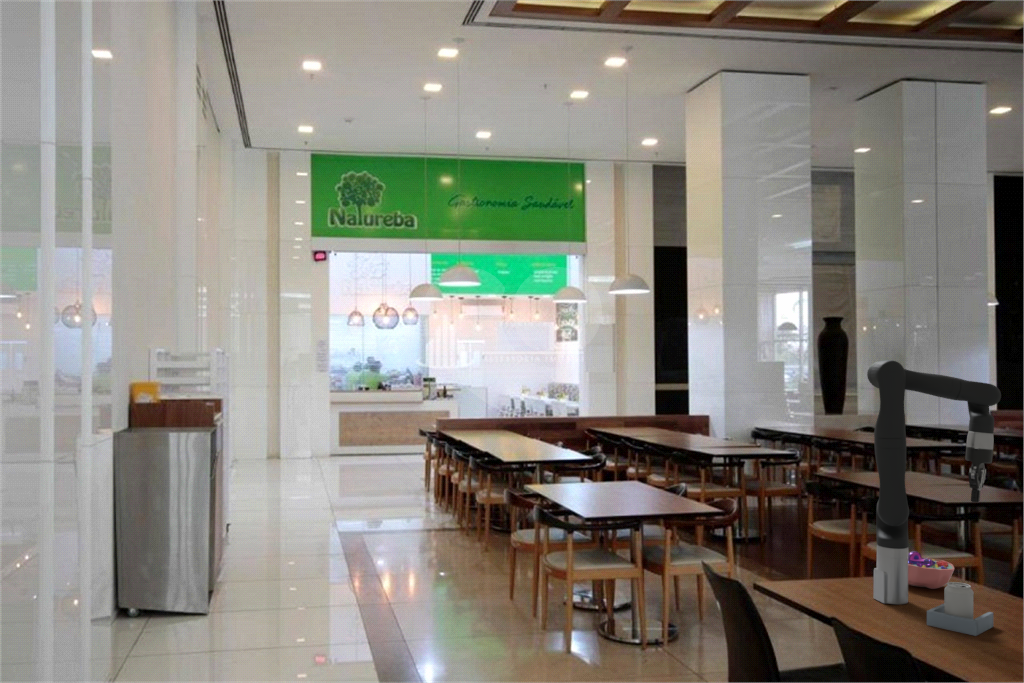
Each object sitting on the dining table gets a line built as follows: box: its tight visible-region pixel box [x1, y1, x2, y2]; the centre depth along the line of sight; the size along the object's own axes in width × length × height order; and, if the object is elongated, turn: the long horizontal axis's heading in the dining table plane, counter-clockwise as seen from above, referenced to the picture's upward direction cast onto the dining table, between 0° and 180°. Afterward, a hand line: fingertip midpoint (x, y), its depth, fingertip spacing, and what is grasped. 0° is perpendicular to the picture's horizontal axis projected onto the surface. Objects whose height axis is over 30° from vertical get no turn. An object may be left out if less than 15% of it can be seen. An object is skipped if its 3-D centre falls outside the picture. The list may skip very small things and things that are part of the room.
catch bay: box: [926, 603, 994, 637], centre depth 263 cm, size 13×13×4 cm
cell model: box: [908, 550, 955, 590], centre depth 306 cm, size 17×20×11 cm
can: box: [943, 581, 974, 619], centre depth 262 cm, size 8×8×12 cm
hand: (975, 501), depth 289 cm, fingers closed
